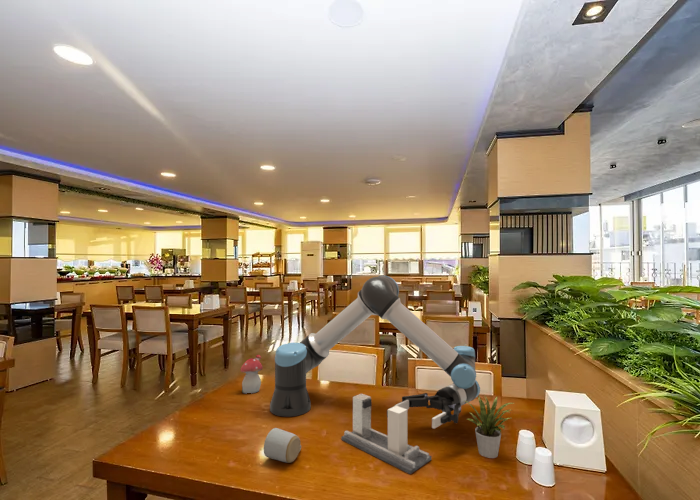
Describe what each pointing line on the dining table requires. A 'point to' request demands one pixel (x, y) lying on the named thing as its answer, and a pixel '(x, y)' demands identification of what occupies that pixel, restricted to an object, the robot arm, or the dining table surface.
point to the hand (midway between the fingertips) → (413, 416)
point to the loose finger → (397, 430)
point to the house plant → (488, 428)
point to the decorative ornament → (251, 375)
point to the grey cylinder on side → (282, 445)
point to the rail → (380, 439)
